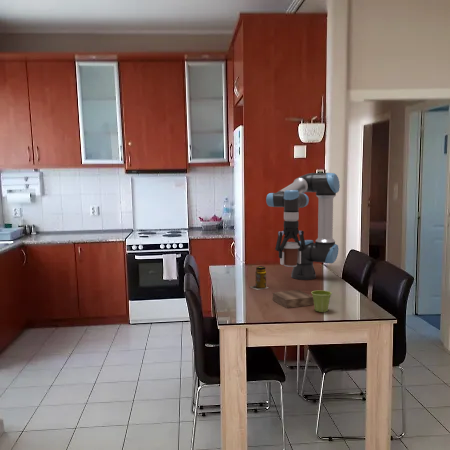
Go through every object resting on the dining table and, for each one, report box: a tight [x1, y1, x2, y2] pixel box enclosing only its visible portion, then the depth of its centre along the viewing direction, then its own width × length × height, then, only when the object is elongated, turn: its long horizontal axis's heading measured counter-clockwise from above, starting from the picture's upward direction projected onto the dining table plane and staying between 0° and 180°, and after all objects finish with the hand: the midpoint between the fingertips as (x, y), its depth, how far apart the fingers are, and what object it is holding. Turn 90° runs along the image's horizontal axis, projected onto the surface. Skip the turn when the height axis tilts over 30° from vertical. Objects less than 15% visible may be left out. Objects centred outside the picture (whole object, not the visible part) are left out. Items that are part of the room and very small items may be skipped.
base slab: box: [272, 289, 314, 309], centre depth 230 cm, size 15×15×4 cm
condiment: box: [250, 265, 270, 291], centre depth 261 cm, size 7×8×12 cm
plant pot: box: [310, 289, 332, 313], centre depth 216 cm, size 9×9×9 cm
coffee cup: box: [282, 241, 300, 268], centre depth 235 cm, size 9×9×12 cm
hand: (290, 263), depth 236 cm, fingers closed on coffee cup, 9 cm apart
